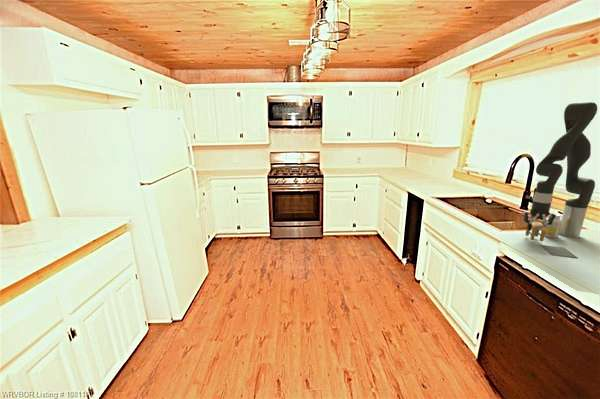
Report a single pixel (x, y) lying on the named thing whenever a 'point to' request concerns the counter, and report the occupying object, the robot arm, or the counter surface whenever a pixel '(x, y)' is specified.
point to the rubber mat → (558, 251)
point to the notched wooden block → (536, 231)
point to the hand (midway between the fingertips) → (535, 230)
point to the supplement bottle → (553, 227)
